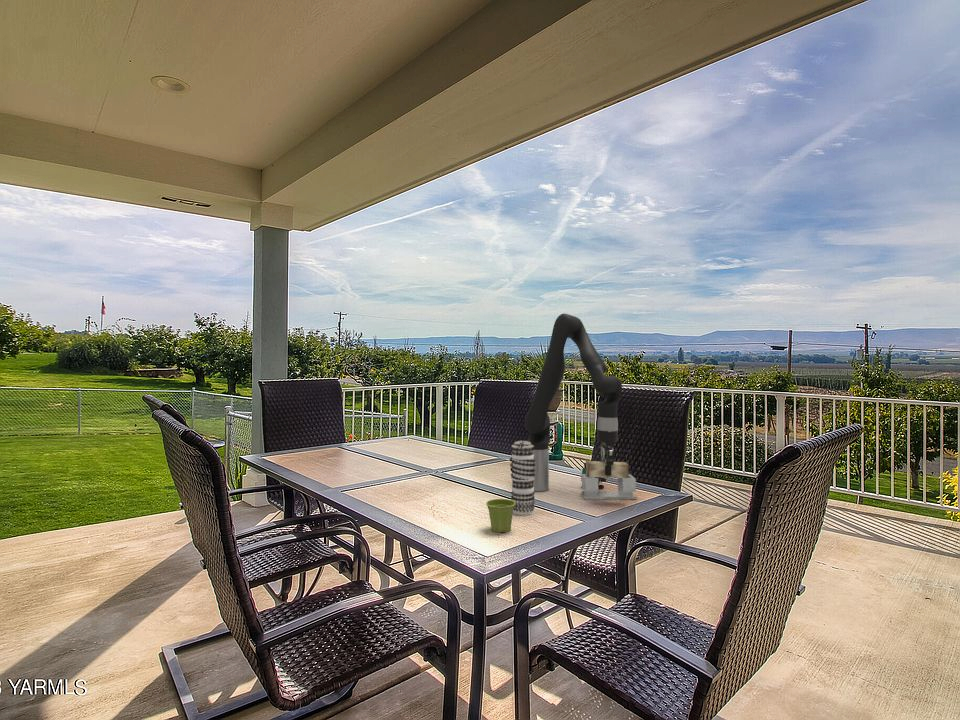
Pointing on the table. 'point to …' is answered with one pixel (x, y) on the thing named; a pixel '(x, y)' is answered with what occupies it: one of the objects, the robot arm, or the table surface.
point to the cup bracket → (624, 491)
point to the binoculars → (595, 477)
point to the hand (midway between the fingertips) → (606, 473)
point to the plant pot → (500, 514)
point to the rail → (599, 469)
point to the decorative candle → (522, 477)
